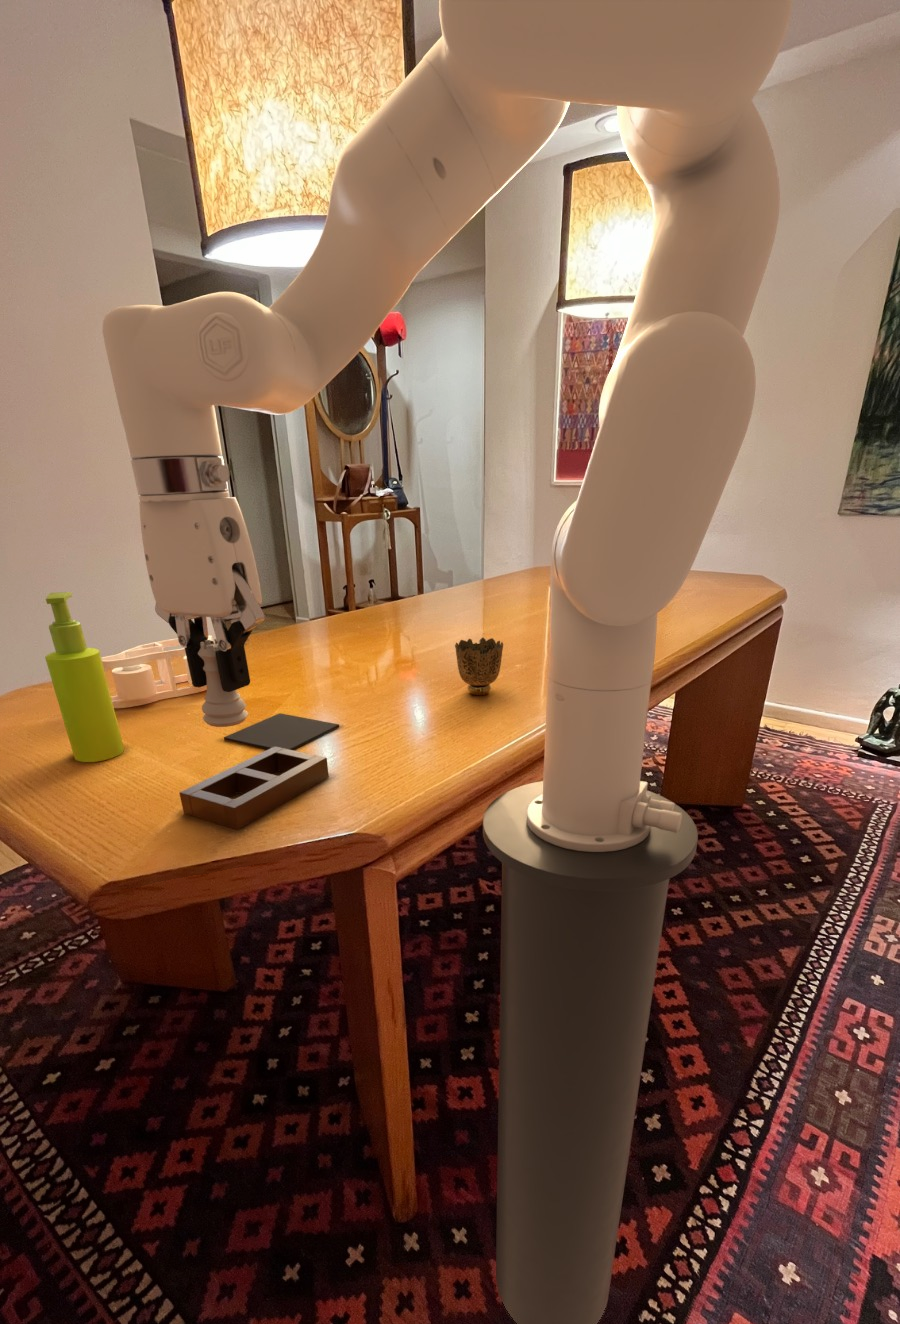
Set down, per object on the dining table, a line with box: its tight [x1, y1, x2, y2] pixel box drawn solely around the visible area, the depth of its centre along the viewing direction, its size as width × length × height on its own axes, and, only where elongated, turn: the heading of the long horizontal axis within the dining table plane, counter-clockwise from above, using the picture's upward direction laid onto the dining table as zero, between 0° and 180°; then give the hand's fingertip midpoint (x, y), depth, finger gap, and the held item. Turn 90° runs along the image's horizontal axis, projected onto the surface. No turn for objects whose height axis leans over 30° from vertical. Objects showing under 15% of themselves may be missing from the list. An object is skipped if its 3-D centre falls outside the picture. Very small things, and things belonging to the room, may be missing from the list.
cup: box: [454, 637, 504, 696], centre depth 105 cm, size 8×7×8 cm
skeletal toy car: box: [101, 634, 214, 709], centre depth 109 cm, size 20×11×7 cm, turn 131°
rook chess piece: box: [198, 638, 249, 728], centre depth 67 cm, size 4×4×8 cm
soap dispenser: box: [44, 591, 125, 763], centre depth 83 cm, size 6×7×20 cm
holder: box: [179, 747, 330, 831], centre depth 75 cm, size 8×14×2 cm, turn 151°
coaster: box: [223, 713, 340, 751], centre depth 92 cm, size 11×11×1 cm
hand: (221, 684), depth 67 cm, fingers closed on rook chess piece, 3 cm apart
